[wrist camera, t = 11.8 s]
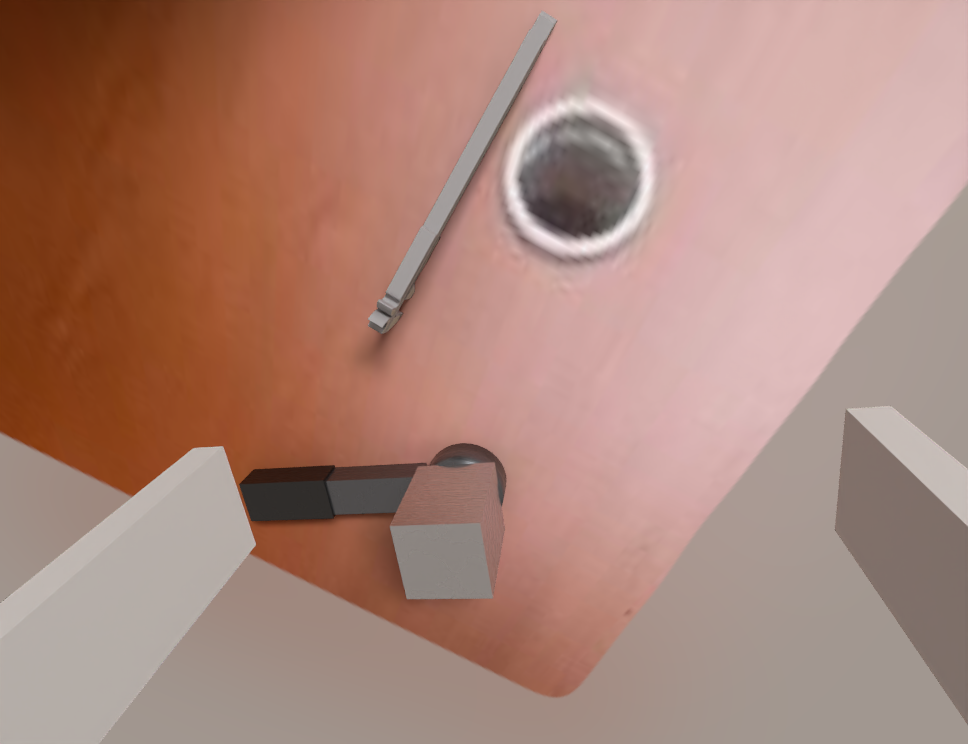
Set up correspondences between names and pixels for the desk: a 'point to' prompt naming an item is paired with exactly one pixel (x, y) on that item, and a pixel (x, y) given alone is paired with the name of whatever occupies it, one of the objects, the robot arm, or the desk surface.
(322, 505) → the ratchet
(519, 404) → the desk surface
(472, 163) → the caliper
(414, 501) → the plain grey cube
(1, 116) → the desk surface
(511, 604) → the desk surface
